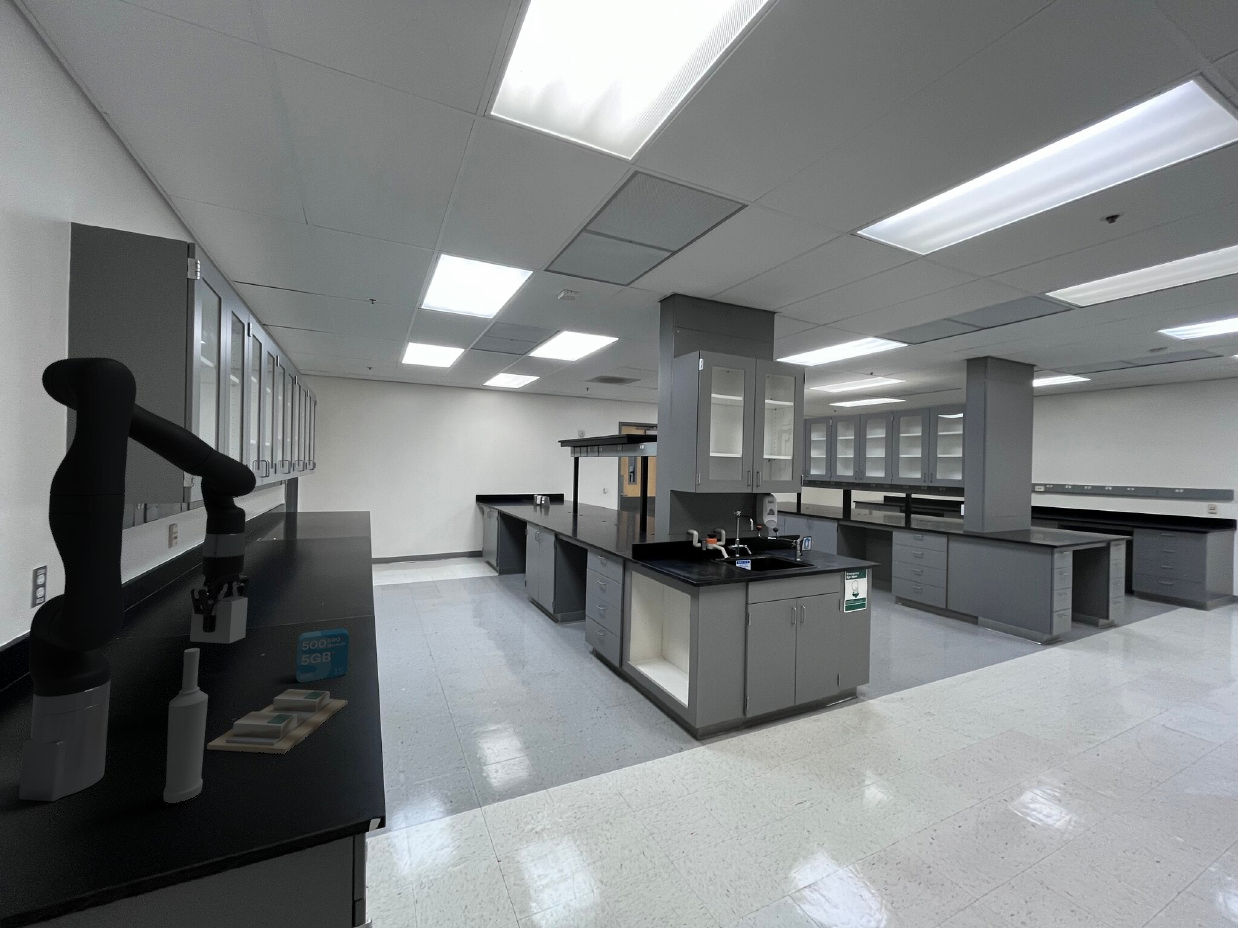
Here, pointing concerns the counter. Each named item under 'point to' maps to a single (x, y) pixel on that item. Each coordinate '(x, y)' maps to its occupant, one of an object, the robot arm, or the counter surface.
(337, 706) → the rail board
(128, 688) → the counter surface
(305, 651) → the data package
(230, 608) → the block
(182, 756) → the bottle
